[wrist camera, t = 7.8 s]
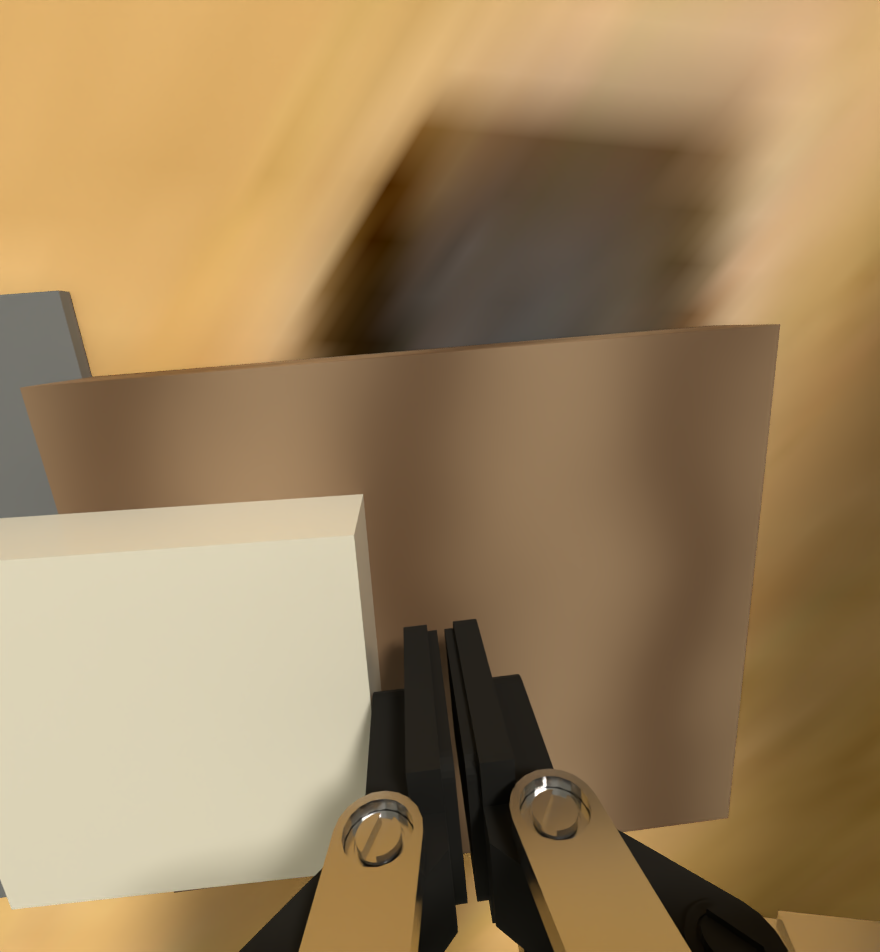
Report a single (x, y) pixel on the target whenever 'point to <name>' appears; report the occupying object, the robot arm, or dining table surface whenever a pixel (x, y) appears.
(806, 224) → the dining table surface
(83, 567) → the tile
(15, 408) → the mat
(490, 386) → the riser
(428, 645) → the robot arm
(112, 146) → the dining table surface
